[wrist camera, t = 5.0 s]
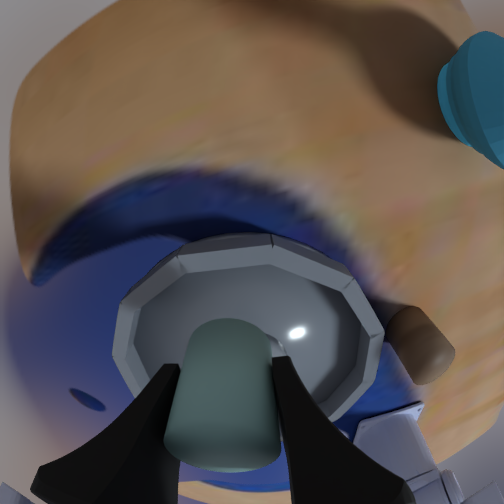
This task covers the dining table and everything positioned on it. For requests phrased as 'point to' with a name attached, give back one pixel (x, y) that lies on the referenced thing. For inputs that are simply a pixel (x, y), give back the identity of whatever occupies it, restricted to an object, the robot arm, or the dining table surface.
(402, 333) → the bead walnut
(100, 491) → the robot arm
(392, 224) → the dining table surface
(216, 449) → the bead teal
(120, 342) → the tray
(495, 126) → the perfume bottle
